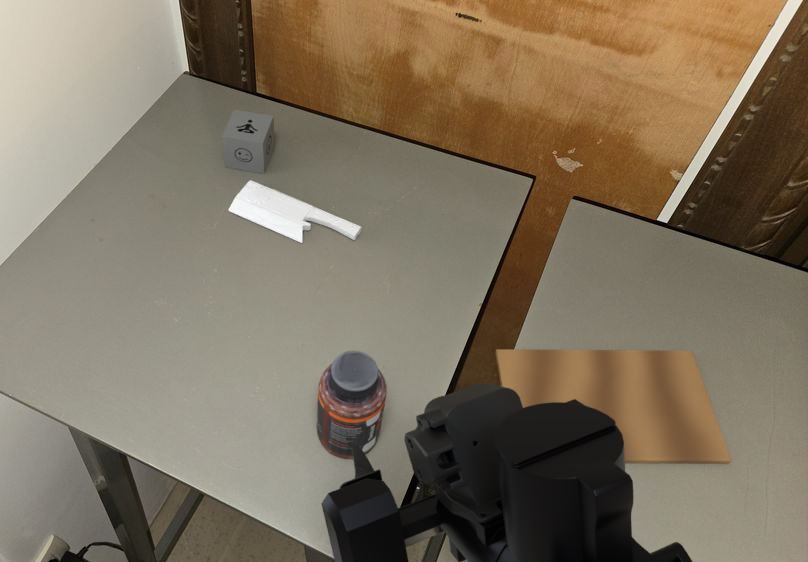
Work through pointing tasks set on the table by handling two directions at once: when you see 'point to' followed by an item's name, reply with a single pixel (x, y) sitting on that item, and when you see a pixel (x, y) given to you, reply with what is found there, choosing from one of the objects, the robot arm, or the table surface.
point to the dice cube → (248, 141)
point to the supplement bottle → (350, 404)
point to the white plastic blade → (285, 212)
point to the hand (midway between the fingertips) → (412, 429)
